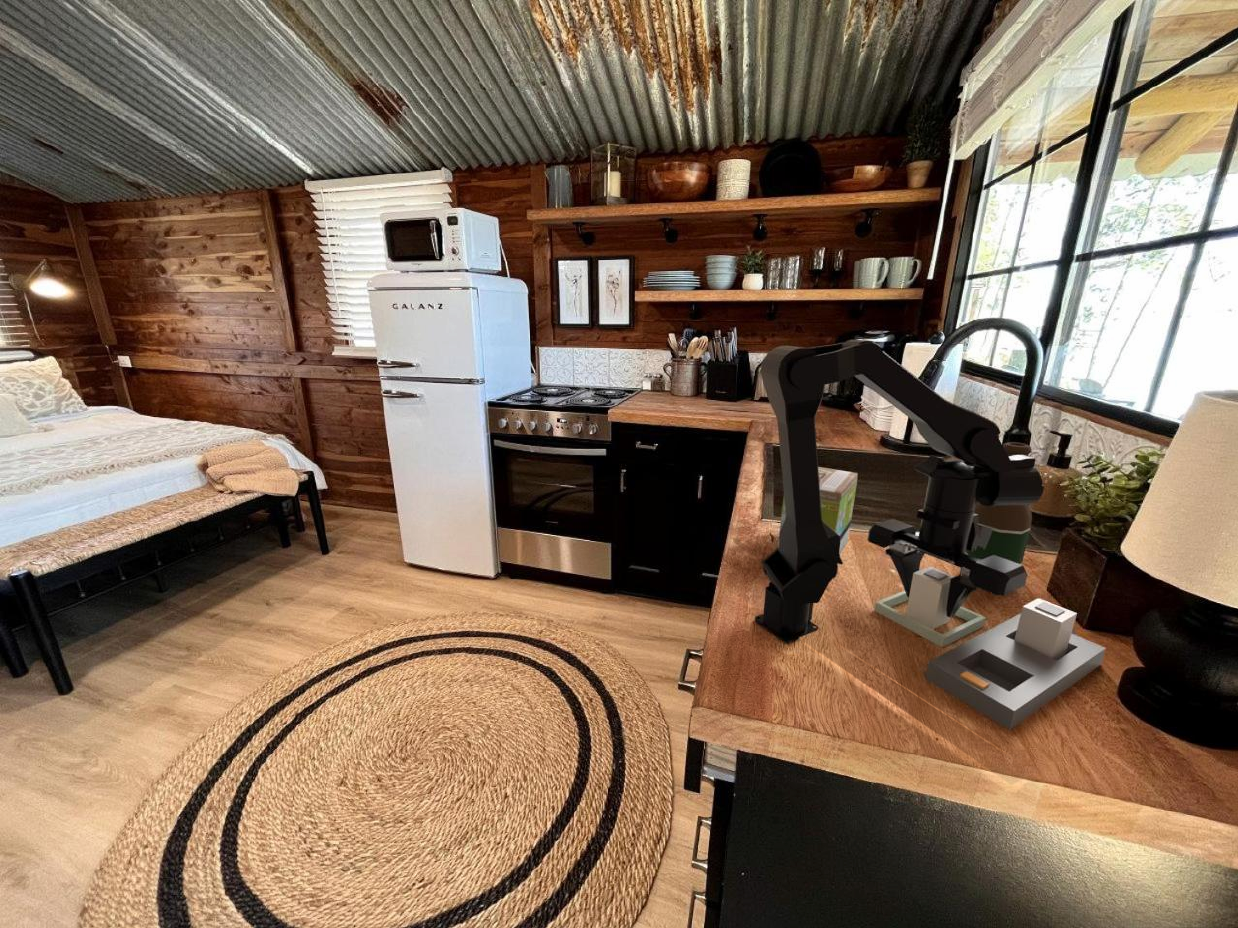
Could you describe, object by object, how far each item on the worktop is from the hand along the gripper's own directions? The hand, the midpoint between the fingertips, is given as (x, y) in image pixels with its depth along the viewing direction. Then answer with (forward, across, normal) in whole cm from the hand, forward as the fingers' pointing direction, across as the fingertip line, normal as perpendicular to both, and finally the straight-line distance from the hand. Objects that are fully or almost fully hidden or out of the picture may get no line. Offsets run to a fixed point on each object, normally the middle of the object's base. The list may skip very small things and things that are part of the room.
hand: (929, 606), depth 72 cm
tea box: (+3, +25, -5) cm, 26 cm away
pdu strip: (+2, -12, +1) cm, 12 cm away
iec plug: (+2, 0, 0) cm, 2 cm away
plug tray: (+2, 0, 0) cm, 2 cm away
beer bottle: (+3, +2, -20) cm, 20 cm away
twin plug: (+2, -12, -4) cm, 13 cm away
